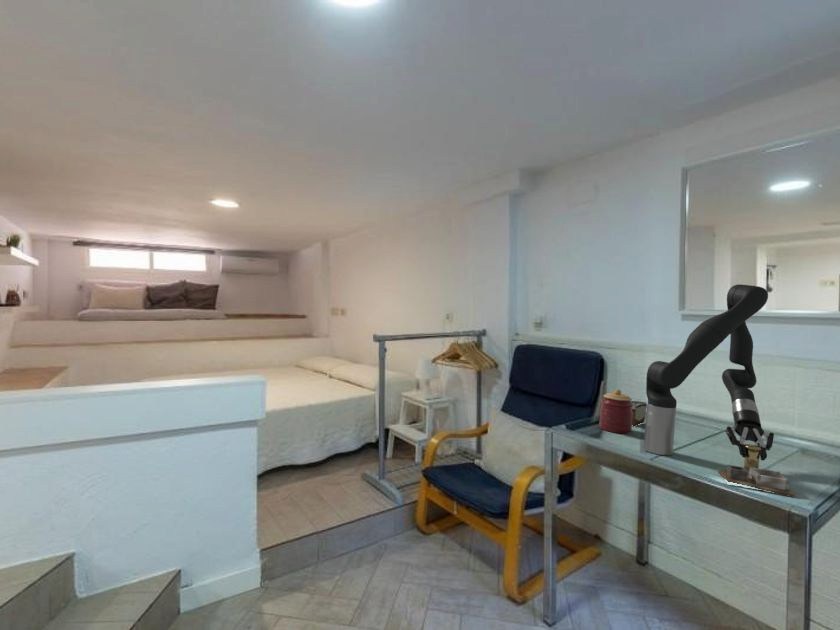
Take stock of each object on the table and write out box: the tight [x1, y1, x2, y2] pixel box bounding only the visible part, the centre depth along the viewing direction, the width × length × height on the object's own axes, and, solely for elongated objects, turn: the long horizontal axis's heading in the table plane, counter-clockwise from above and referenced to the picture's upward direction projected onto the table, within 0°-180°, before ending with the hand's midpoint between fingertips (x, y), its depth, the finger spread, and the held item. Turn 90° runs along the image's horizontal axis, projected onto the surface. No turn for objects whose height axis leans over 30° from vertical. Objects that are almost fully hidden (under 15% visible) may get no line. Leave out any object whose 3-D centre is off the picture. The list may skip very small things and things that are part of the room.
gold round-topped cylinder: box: [743, 443, 761, 471], centre depth 147 cm, size 5×5×8 cm
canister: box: [598, 388, 634, 435], centre depth 188 cm, size 13×13×18 cm
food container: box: [631, 400, 648, 427], centre depth 200 cm, size 12×6×10 cm, turn 130°
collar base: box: [717, 464, 795, 497], centre depth 133 cm, size 16×12×4 cm
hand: (753, 457), depth 145 cm, fingers closed on gold round-topped cylinder, 4 cm apart
